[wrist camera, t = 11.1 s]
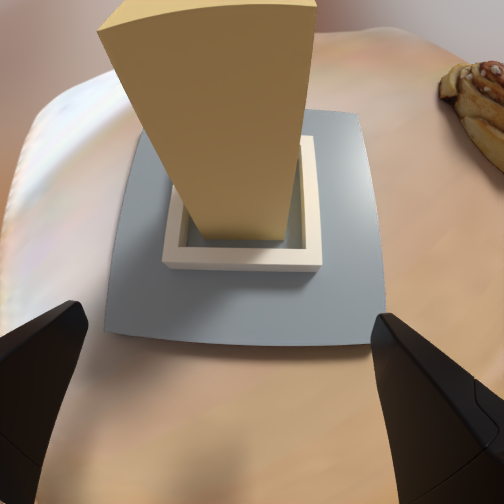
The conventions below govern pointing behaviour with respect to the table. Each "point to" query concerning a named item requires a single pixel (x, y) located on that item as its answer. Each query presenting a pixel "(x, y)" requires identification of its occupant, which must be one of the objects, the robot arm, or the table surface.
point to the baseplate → (255, 255)
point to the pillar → (220, 102)
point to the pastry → (479, 105)
